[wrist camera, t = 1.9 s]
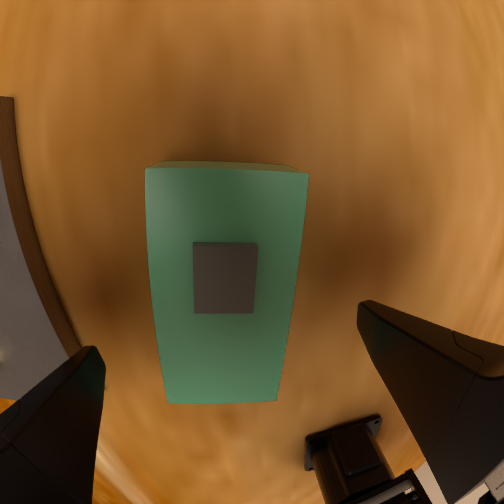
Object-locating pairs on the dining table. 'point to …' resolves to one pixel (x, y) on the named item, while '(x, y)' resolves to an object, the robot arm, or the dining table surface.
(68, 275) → the dining table surface
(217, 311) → the board
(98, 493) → the dining table surface
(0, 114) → the chassis
